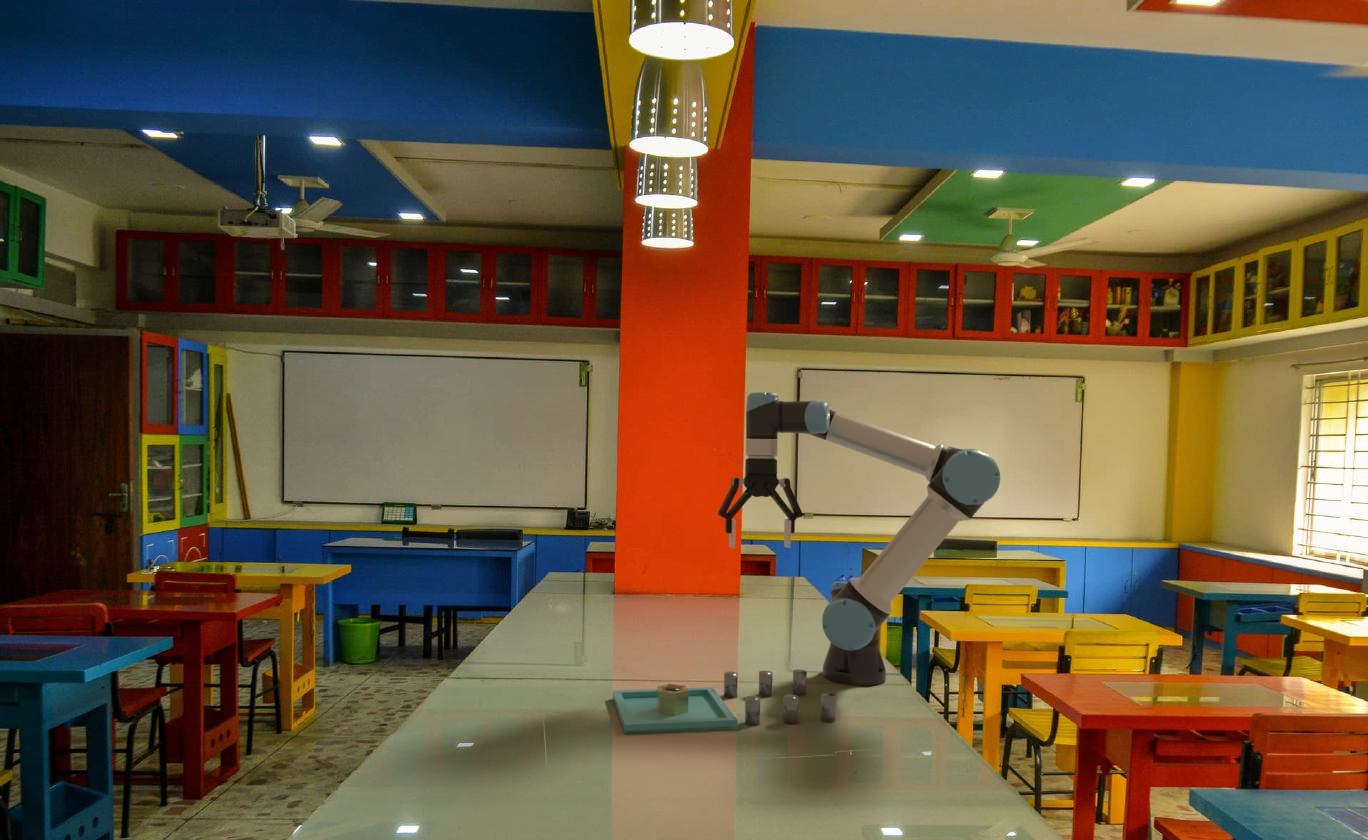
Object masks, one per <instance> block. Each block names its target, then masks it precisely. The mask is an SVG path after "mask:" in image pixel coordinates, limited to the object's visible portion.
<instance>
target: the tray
mask: <svg viewBox="0 0 1368 840" xmlns="http://www.w3.org/2000/svg"><path fill="white" fill-rule="evenodd" d="M687 689H688V690H689V695H688V713H684V714H680V715H677V716H673V715H665V714H659V712H658V710H657V688H653V689H652V688H651V689H649V688H648V689H624V690H622V689H620V690H612V701H613V703H614V706H615V709H616V712H617V715H618V718H619V721H620V723H621V724H620V725H621V726H622V729H623V732H624V735H635V734H636V735H639V734H641V735H642V734H659V733H662V734H663V733H682V732H686V733H687V732H701V731H702V732H703V731H704V732H706V731H728V730H729V731H730V730H738V720H739V719H737V717H736V716H735V714H734V713H733V711H731V709H730V708H729V707H728V706H727V704H726V703H725V701H724V700H723V698H721V696H720V695H719V693H717V691H716V690H715V688H714V687H712V686H709V687H708V686H707V687H687Z"/></svg>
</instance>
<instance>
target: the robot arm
mask: <svg viewBox="0 0 1368 840" xmlns="http://www.w3.org/2000/svg"><path fill="white" fill-rule="evenodd" d="M746 399H747V401H746V411H745V420H746V421H745V423H746V424H745V425H746V426H745V427H746V428H745V430H746V432H745V434H746V435H745V439H746V441H745V456H747V458H746V459H745V468H744V470H745V474H744V475H745V476H744V478H739V477H732V478H731V486H730V488H729V490H728V492H727V494H726V496H725V498H724V500H723V501H722V504H721V506H720V508H719V509H718V511H717V515H718V516H719V517H721V518H724V520H725V521H724V522H725V528H724V529H725V533H726V534H729V535H728V539H729V541H728V547H729V548H730V549H735V548H736V521H737V520H736V519H733V518H734V517H735V516H736V515H737V514H738V512H739V511H740V510H741V509H742V507H743V506H744V505H745V504H747V502H748V501H749V499H751V498H752V497H754V498H760V497H764V498H768V497H770V498H771V499H773V501H774V502H775V503H776V504H777V506H778V507H779V509H780V510H781V511H782V512H783V514H784V515H785V516H786V517H787V519H784V525H783V527H784V531H783V533H784V534H783V535H784V536H783V539H784V540H783V547H784V548H787V549H790V548H792V534H795V530H796V527H795V526H796V520H797V519H798V518H802V517H803V516H804V515H803V511H802V509H801V507H800V504H799V502H798V500H797V499H796V496H795V494H794V492H793V489H792V488H791V479H790V478H788V477H783V478H780V479H779V478H778V460H777V459H776V457H777V456H778V435H779V434H780V433H782V434H784V433H785V434H786V433H787V434H790V433H791V434H804V435H805V434H806V435H808V436H809V435H811V436H813V437H815V438H818V439H822V440H825V441H827V442H831V443H833V444H836V445H839V446H841V447H844V448H846V449H849V450H852V451H855V452H858V453H861V454H863V455H866V456H868V457H872V458H875V459H877V460H880V461H883V462H885V463H888V464H891V465H894V466H897V467H899V468H902V469H904V470H907V471H910V472H913V473H915V474H919V475H922V476H924V477H925V478H926V481H927V482H928V485H926V490H927V497H926V498H924V500H923V501H922V503H921V504H920V505H919V506H918V507H917V508H916V509H915V511H914V512H913V513H912V515H910V517H909V518H908V519H907V520H906V522H905V523H904V524H903V525H902V526H901V528H900V529H899V531H897V533H896V534H895V535H894V536H893V538H892V539H891V540H890V541H889V543H888V544H887V545H886V546H885V547H884V548H883V550H882V551H881V552H880V553H879V554H878V556H877V557H876V558H875V559H874V560H873V561H872V562H871V564H870V565H869V566H868V567H867V569H866V570H865V572H863V574H861V576H860V577H859V576H858V577H850V579H849V580H848V581H834V582H832V584H831V588H830V589H831V590H830V597H831V598H830V602H829V603H828V604H827V605H826V607H824V608H825V609H824V610H823V613H822V619H821V620H822V621H821V624H822V625H821V626H822V630H823V633H824V635H825V637H826V638H827V639H828V641H829V642H830V644H829V648H828V649H827V650H828V651H827V653H826V655H825V656H826V657H825V659H824V661H823V664H822V676H823V677H824V678H825V679H826V680H828V681H831V682H834V683H838V684H842V685H848V686H849V685H850V686H873V685H874V686H875V685H879V684H883V683H885V682H886V680H887V670H886V666H885V663H884V659H883V656H882V653H881V650H880V627H881V626H882V625H883V624H884V622H885V621H886V620H887V619H888V618H889V616H890V615H891V614H892V606H891V605H892V602H893V600H895V599H896V597H897V596H898V595H899V594H900V592H901V591H902V590H903V589H904V588H905V586H906V585H907V584H908V583H909V582H910V580H912V578H913V577H914V576H915V574H917V572H918V571H919V570H920V569H921V568H922V566H923V565H924V564H925V563H926V561H927V560H928V559H929V558H930V556H931V555H932V554H933V553H934V552H935V551H936V549H937V548H938V547H939V546H940V545H941V544H942V542H943V541H944V540H945V539H946V538H947V536H948V535H949V534H950V533H951V531H953V529H954V528H955V527H956V526H957V524H959V522H961V521H970V520H972V518H973V517H974V516H975V515H976V513H977V512H978V511H979V510H980V509H981V507H982V506H983V505H984V504H985V503H986V502H988V501H989V500H991V499H992V498H993V497H994V496H995V495H996V493H997V492H998V489H999V487H1000V483H1001V472H1000V468H999V466H998V464H997V463H996V461H995V459H994V458H993V457H991V456H990V454H987V453H985V452H984V451H983V450H980V449H975V448H966V449H963V448H958V447H953V446H949V445H946V444H943V443H941V444H939V445H933V444H930V443H928V442H925V441H923V440H919V439H916V438H913V437H910V436H907V435H904V434H902V433H899V432H895V431H893V430H890V429H887V428H884V427H883V426H882V427H881V426H878V425H876V424H873V423H869V422H866V421H864V420H862V419H858V418H856V417H852V416H849V415H846V414H844V413H841V412H838V411H835V410H832V409H830V406H829V404H828V403H827V402H826V401H818V400H808V401H807V400H800V401H782V400H780V399H779V395H778V393H775V392H764V391H763V392H757V391H756V392H751V393H749V394H748V395H747V398H746ZM742 486H744V487H745V490H744V491H743V493H742V495H741V496H740V497H739V498H738V500H737V501H735V503H734V504H733V505H732V502H733V500H734V498H735V496H736V495H737V492H738V490H739V488H741V487H742ZM778 486H780V487H781V488H782V489H783V492H784V494H785V496H786V499H787V500H788V503H789V505H790V506H791V509H790V507H789V505H787V504H786V502H785V501H784V500H783V499H782V497H781V496H780V494H779V493H778V492H777V490H776V488H777V487H778ZM731 505H732V507H731V508H730V506H731ZM729 508H730V509H729Z"/></svg>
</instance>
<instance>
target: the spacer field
mask: <svg viewBox="0 0 1368 840" xmlns="http://www.w3.org/2000/svg"><path fill="white" fill-rule="evenodd" d="M723 675H724V677H723V678H724V679H723V697H724V698H727V699H736V698H738V686H739V685H738V683H739V682H738V681H739V680H738V679H739V673H738V672H735V671H725V672H724V673H723ZM807 676H808V675H807V670H805V669H794V670H792V694H790V693H788V694H784V695H783V704H782V707H783V709H782V713H783V714H782V722H783V723H784V724H788V725H795V724H798V723H799V696H801V697H804V696H806V695H807ZM772 696H773V672H772V671H770V670H760V671H758V696H756V695H747V696H745V697H744V698H745V700H744V724H745V725H747V726H751V727H752V726H754V727H755V726H760V724H761V697H762V698H771V697H772ZM836 702H837V695H836V694H834V693H830V692H824V693H821V694H820V721H822V722H824V723H835V722H836V712H837V711H836V710H837V709H836V706H837V705H836V704H837V703H836Z"/></svg>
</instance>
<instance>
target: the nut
mask: <svg viewBox="0 0 1368 840" xmlns="http://www.w3.org/2000/svg"><path fill="white" fill-rule="evenodd" d="M687 688H688V687H687V685H684V684H676V683H675V684H674V683H667V684H662V685H657V687H656V689H657V710H658V712H659V714H665V715H673V716H677V715H680V714H684V713H688V695H689V690H688V689H687Z"/></svg>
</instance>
